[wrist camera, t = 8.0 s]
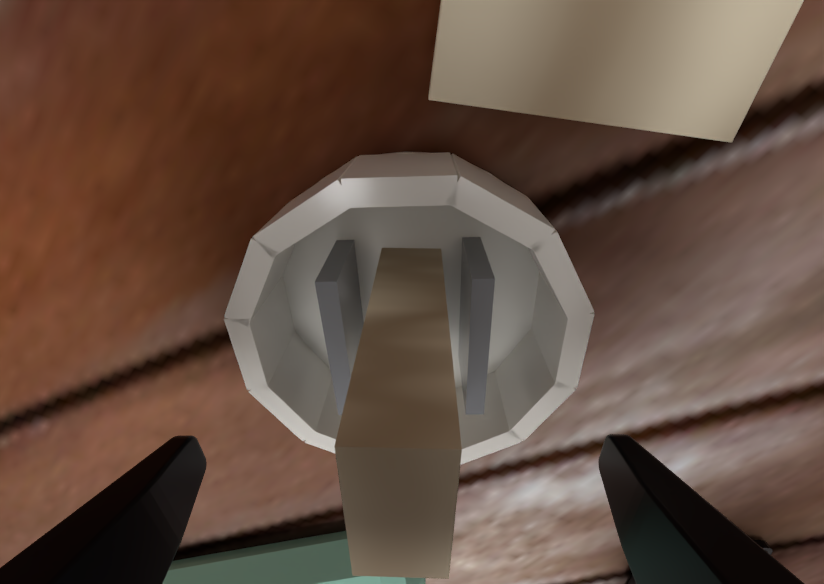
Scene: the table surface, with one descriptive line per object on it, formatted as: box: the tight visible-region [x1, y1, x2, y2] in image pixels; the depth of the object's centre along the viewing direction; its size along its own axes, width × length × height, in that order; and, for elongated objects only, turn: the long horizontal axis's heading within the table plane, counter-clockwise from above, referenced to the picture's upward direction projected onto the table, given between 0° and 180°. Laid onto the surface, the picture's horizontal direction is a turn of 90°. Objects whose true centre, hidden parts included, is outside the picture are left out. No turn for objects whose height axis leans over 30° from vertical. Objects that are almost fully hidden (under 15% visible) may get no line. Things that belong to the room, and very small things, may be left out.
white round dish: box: [224, 151, 594, 465], centre depth 13 cm, size 10×10×3 cm
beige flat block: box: [428, 0, 804, 142], centre depth 10 cm, size 8×4×2 cm, turn 83°
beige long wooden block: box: [334, 248, 462, 579], centre depth 10 cm, size 2×4×8 cm, turn 0°
